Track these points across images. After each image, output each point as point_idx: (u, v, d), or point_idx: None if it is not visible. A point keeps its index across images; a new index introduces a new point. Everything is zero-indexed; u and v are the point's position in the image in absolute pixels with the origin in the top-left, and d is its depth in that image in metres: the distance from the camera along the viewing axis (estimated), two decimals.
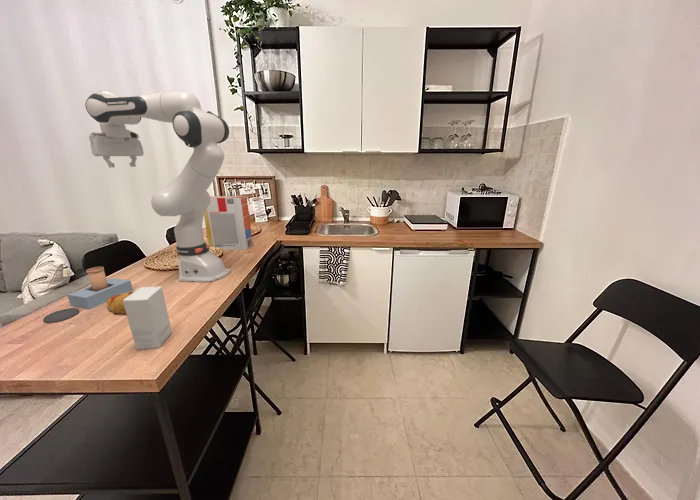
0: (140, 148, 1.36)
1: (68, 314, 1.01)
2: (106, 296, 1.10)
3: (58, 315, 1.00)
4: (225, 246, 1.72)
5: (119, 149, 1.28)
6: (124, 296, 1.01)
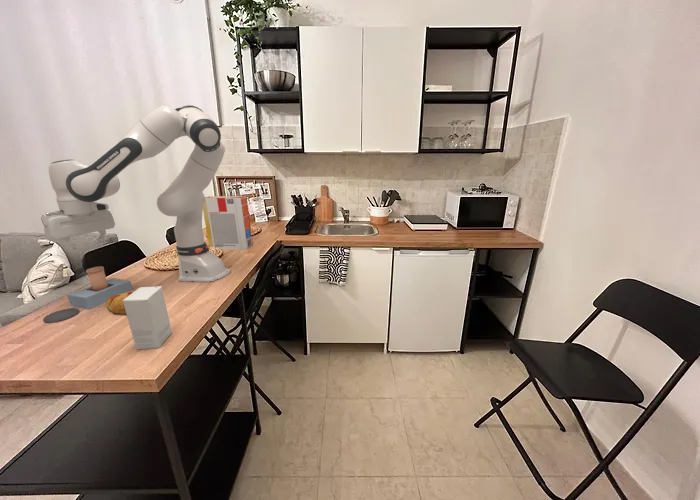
0: (110, 220, 1.13)
1: (68, 314, 1.01)
2: (106, 296, 1.10)
3: (58, 315, 1.00)
4: (225, 246, 1.72)
5: (82, 226, 1.04)
6: (123, 296, 1.01)
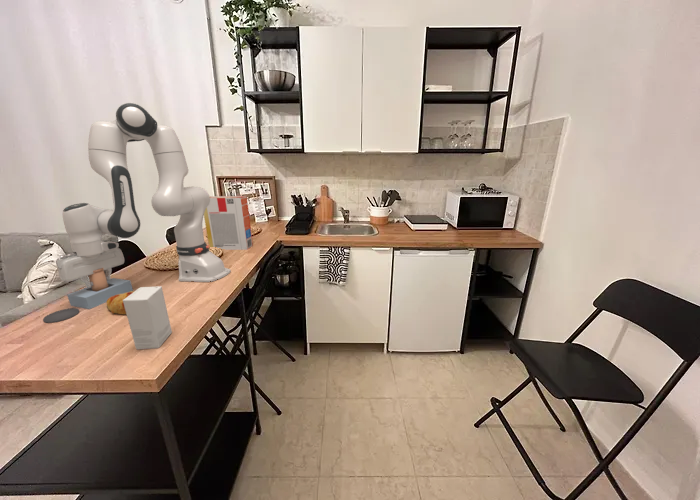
0: (120, 256, 1.17)
1: (68, 314, 1.01)
2: (106, 296, 1.10)
3: (58, 315, 1.00)
4: (225, 246, 1.72)
5: (94, 266, 1.09)
6: (122, 296, 1.01)
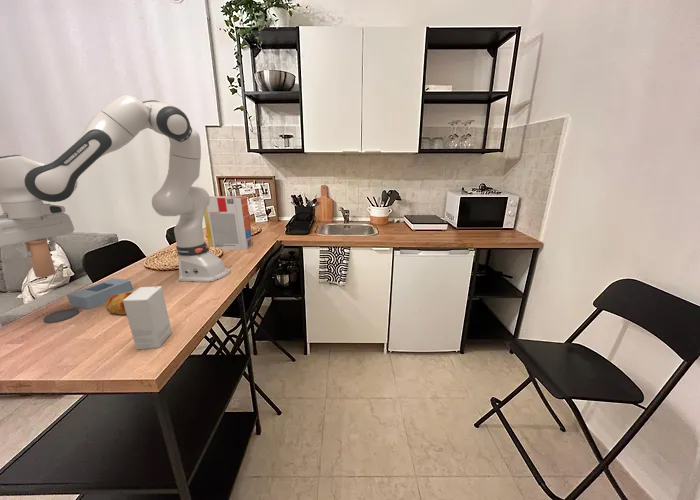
0: (68, 224, 0.99)
1: (68, 314, 1.01)
2: (106, 296, 1.10)
3: (58, 315, 1.00)
4: (225, 246, 1.72)
5: (32, 232, 0.91)
6: (121, 297, 1.01)
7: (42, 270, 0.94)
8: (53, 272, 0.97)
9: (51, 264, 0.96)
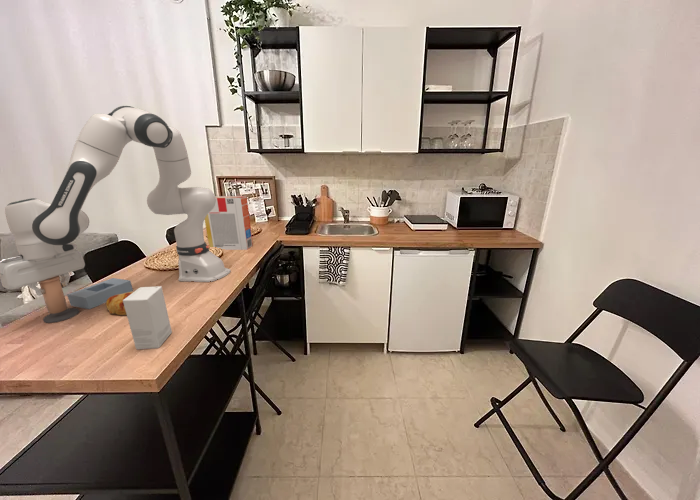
0: (79, 260, 1.03)
1: (68, 314, 1.01)
2: (106, 296, 1.10)
3: (58, 315, 1.00)
4: (225, 246, 1.72)
5: (46, 271, 0.94)
6: (120, 297, 1.01)
7: (55, 307, 0.98)
8: (65, 308, 1.00)
9: (63, 300, 1.00)
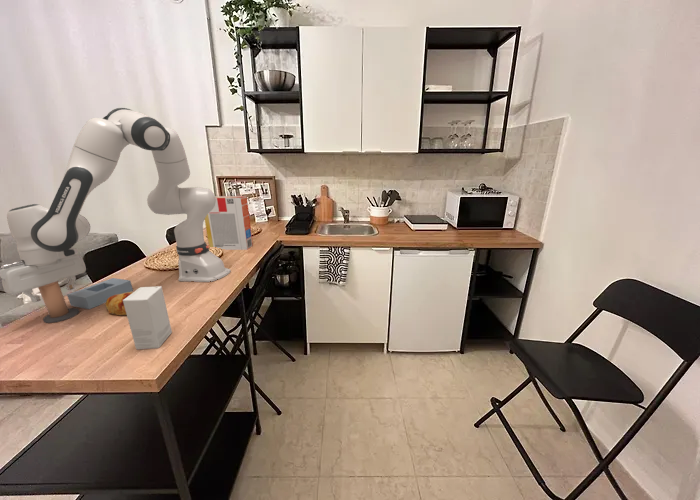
0: (80, 264, 1.04)
1: (68, 314, 1.01)
2: (106, 296, 1.10)
3: None
4: (225, 246, 1.72)
5: (47, 275, 0.95)
6: (119, 297, 1.00)
7: (56, 311, 0.99)
8: (66, 311, 1.01)
9: (64, 304, 1.00)
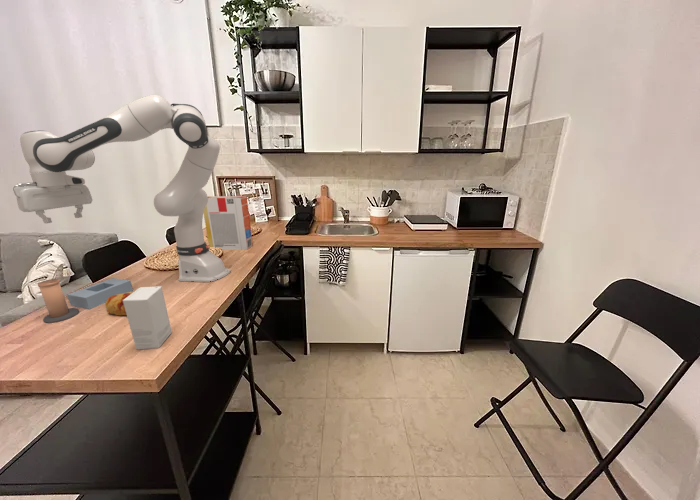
0: (87, 195, 1.12)
1: (68, 314, 1.01)
2: (106, 296, 1.10)
3: None
4: (225, 246, 1.72)
5: (58, 200, 1.03)
6: (118, 297, 1.00)
7: (56, 311, 0.99)
8: (66, 311, 1.01)
9: (64, 304, 1.00)
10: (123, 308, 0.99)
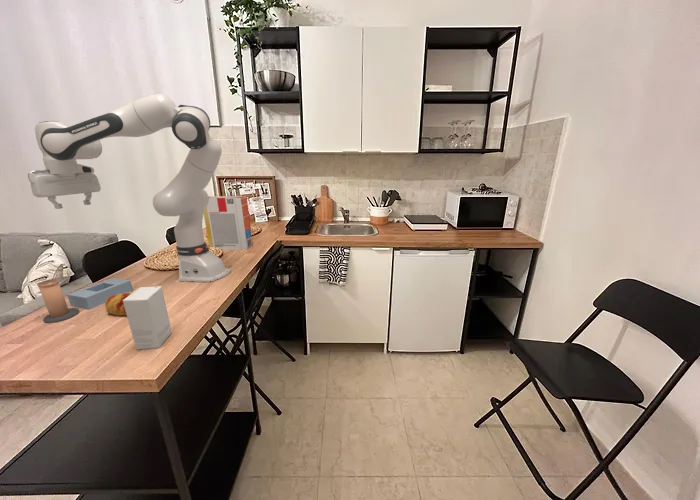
0: (96, 183, 1.18)
1: (68, 314, 1.01)
2: (106, 296, 1.10)
3: None
4: (225, 246, 1.72)
5: (68, 187, 1.09)
6: (117, 297, 1.00)
7: (56, 311, 0.99)
8: (66, 311, 1.01)
9: (64, 304, 1.00)
10: (122, 308, 0.99)
